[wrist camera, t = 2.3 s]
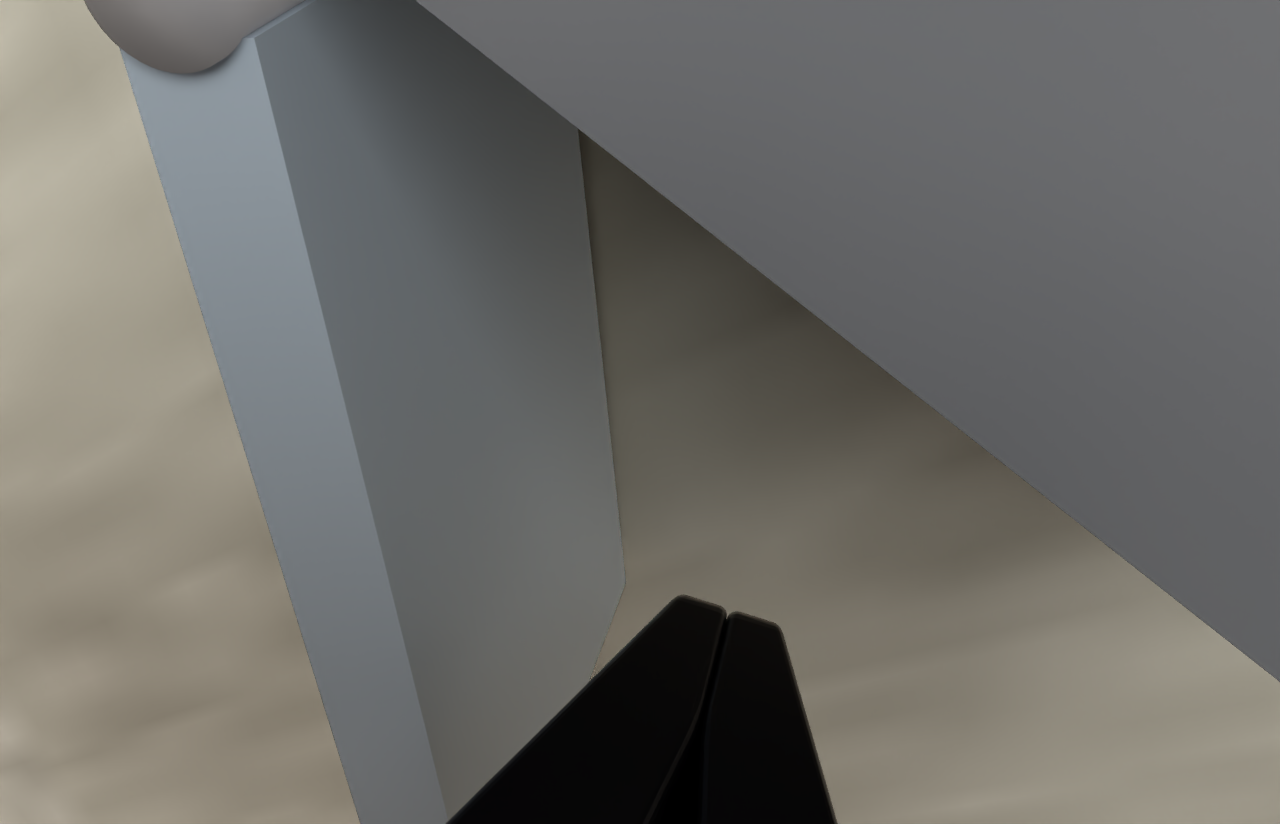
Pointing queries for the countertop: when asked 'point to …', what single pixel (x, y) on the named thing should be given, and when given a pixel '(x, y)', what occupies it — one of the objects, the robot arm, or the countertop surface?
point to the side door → (397, 364)
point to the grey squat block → (991, 227)
